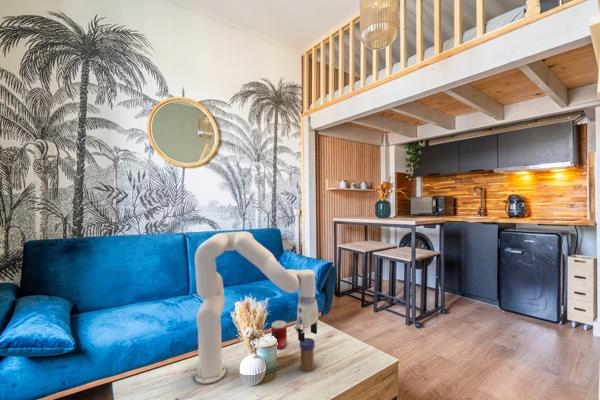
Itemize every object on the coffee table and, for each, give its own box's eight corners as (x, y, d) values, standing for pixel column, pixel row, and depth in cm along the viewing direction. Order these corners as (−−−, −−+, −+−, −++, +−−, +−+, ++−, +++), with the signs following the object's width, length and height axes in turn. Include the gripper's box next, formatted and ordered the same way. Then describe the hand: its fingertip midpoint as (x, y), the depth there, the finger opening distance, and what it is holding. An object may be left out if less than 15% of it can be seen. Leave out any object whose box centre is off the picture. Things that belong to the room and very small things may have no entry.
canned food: (287, 341, 146) (287, 320, 146) (285, 349, 138) (285, 327, 138) (273, 340, 146) (273, 320, 146) (270, 349, 139) (270, 327, 138)
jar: (303, 372, 120) (303, 347, 120) (299, 364, 125) (298, 340, 125) (315, 369, 122) (315, 344, 122) (310, 362, 127) (310, 338, 127)
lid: (302, 352, 119) (302, 347, 119) (297, 344, 126) (297, 339, 125) (316, 349, 122) (316, 344, 122) (311, 341, 128) (311, 336, 128)
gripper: (300, 306, 114) (301, 348, 114) (325, 294, 127) (325, 332, 128) (287, 302, 119) (288, 342, 119) (312, 291, 132) (313, 327, 133)
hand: (307, 336), depth 124 cm, fingers open, 8 cm apart
